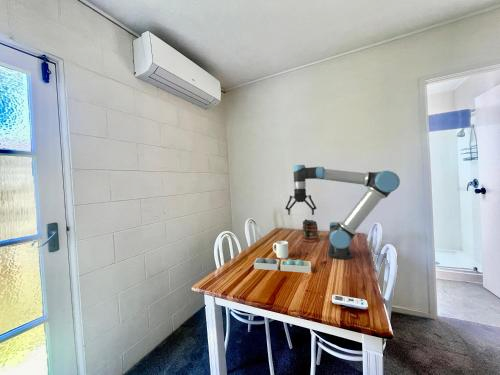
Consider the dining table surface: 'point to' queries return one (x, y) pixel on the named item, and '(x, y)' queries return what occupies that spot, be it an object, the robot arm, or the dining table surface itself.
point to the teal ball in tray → (299, 263)
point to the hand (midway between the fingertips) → (301, 219)
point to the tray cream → (296, 267)
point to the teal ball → (289, 262)
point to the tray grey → (266, 265)
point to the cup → (281, 249)
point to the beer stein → (310, 231)
